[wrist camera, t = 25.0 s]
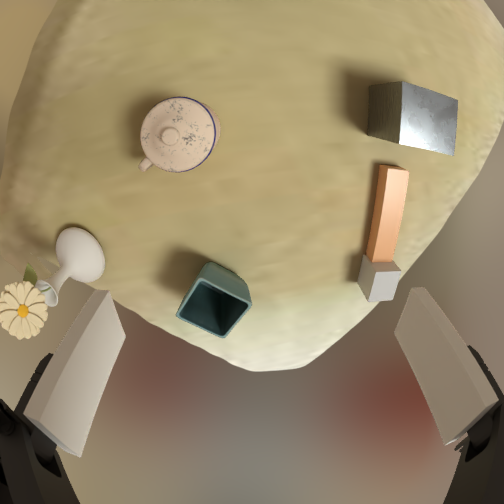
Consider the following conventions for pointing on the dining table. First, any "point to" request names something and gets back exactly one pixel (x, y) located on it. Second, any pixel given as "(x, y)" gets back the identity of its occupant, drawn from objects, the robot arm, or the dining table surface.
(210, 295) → the flower pot
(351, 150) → the dining table surface
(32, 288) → the flower in vase
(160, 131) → the teacup with lid
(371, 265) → the orange bar on cube
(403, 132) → the block
